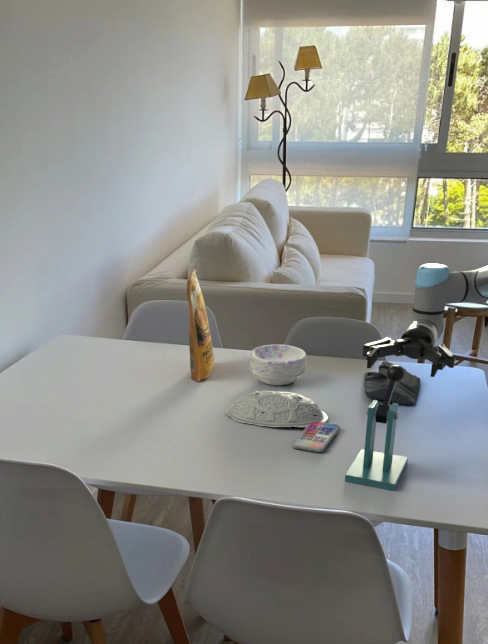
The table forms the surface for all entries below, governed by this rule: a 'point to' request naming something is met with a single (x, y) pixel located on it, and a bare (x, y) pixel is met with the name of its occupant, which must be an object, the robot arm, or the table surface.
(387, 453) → the bracket
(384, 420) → the lever
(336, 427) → the smartphone
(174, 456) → the table surface
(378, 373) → the dark slate chunk
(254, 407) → the carved stone relief
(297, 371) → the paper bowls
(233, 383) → the table surface
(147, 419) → the table surface
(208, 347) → the pancake mix bag
